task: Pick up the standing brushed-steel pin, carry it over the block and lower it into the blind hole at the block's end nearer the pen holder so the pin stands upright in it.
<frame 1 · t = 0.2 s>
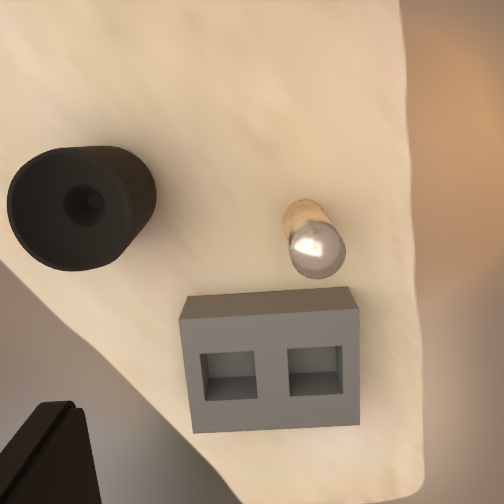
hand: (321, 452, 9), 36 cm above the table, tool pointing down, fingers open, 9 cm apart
pen holder: (112, 191, 44), on the table
hole block: (270, 345, 48), on the table
steel pin: (304, 220, 44), on the table
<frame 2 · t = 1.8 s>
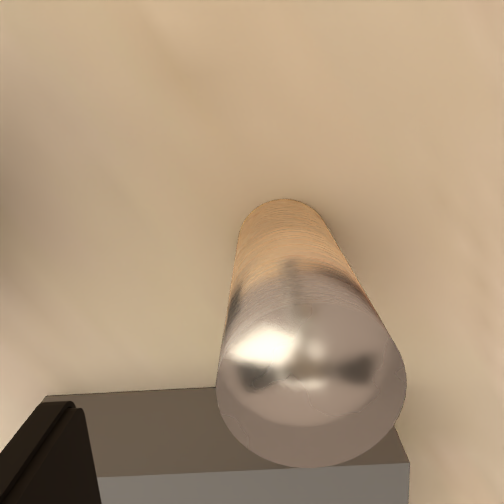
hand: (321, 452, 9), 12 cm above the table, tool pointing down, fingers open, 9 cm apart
hole block: (219, 486, 24), on the table
steel pin: (283, 244, 20), on the table
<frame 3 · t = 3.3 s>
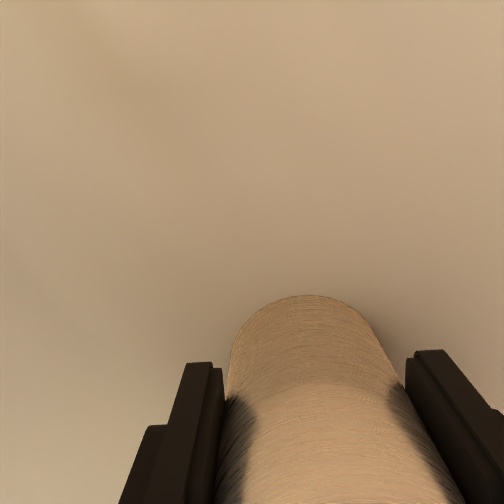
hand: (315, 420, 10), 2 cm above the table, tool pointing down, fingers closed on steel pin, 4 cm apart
steel pin: (305, 366, 12), on the table, touching gripper
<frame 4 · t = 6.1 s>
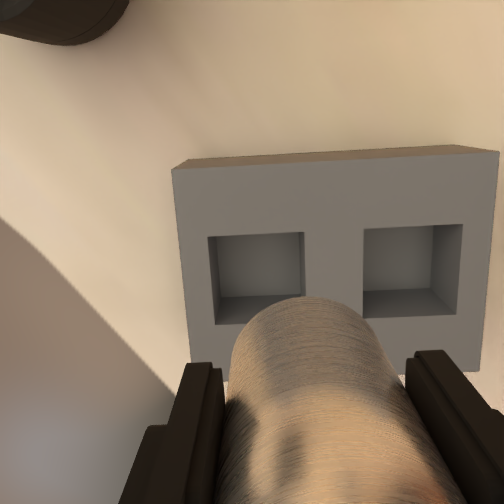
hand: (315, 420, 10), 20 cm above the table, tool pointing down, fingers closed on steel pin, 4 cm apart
hole block: (321, 247, 30), on the table
steel pin: (306, 367, 12), point 18 cm above the table, touching gripper
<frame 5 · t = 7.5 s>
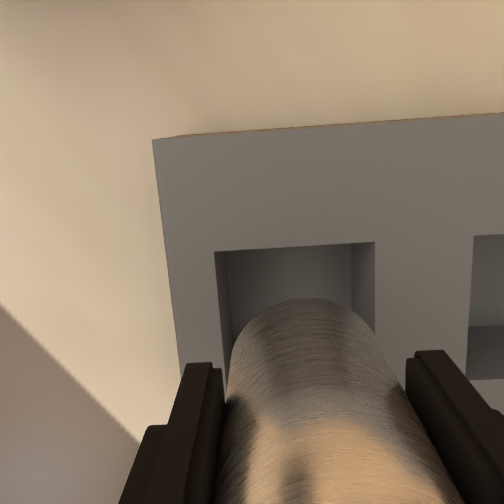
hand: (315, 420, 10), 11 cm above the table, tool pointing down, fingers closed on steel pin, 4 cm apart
hole block: (379, 263, 20), on the table
steel pin: (305, 368, 12), point 8 cm above the table, touching gripper
when the fingers open (6 cm above the table, at t = 8.7 s): steel pin drops 2 cm, resting on hole block.
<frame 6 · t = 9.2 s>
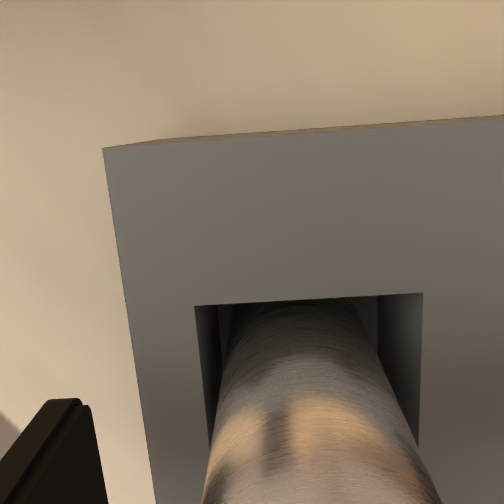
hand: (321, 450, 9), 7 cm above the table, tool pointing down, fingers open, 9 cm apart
hole block: (411, 302, 16), on the table
steel pin: (294, 327, 15), point 2 cm above the table, touching hole block
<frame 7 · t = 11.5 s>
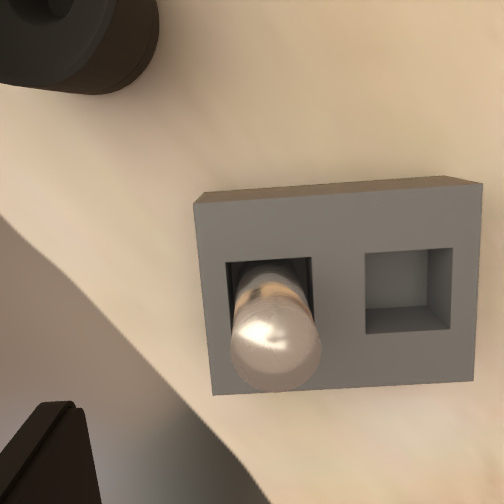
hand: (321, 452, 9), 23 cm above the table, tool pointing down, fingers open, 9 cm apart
pen holder: (93, 23, 29), on the table
hole block: (326, 270, 32), on the table
steel pin: (267, 279, 31), point 2 cm above the table, touching hole block
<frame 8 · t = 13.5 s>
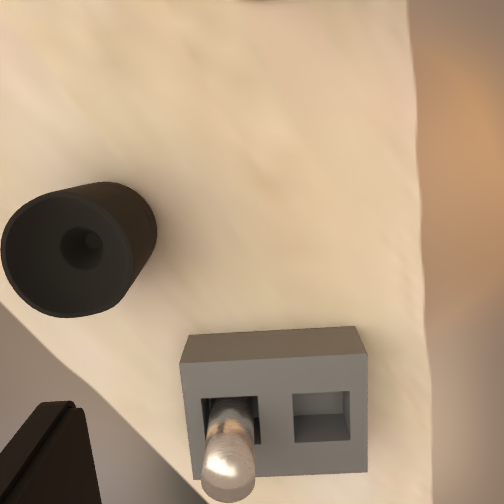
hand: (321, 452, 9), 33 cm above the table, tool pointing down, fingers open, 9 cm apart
pen holder: (111, 228, 42), on the table
hole block: (274, 385, 46), on the table
steel pin: (232, 396, 45), point 2 cm above the table, touching hole block
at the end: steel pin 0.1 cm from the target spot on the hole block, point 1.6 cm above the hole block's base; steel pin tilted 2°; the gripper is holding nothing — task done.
